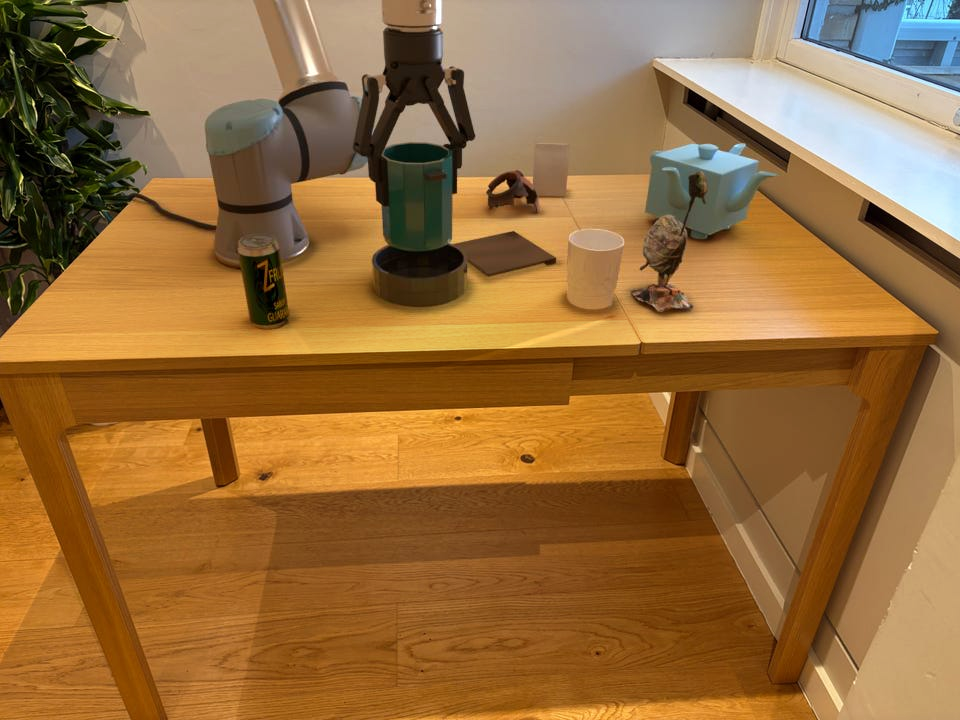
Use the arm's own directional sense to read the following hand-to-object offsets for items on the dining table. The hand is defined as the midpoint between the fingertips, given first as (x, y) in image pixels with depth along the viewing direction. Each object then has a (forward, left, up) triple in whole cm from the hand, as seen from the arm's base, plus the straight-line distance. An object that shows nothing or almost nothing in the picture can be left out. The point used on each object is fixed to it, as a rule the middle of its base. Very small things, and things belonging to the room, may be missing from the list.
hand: (417, 197), depth 103 cm
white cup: (+16, +20, -15) cm, 30 cm away
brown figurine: (+20, +30, -15) cm, 39 cm away
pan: (0, 0, -14) cm, 14 cm away
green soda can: (-1, -23, -15) cm, 27 cm away
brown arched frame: (-22, +31, -15) cm, 41 cm away
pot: (0, 0, -6) cm, 6 cm away
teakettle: (+2, +56, -15) cm, 58 cm away
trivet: (-4, +17, -14) cm, 23 cm away
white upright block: (-26, +42, -15) cm, 51 cm away
